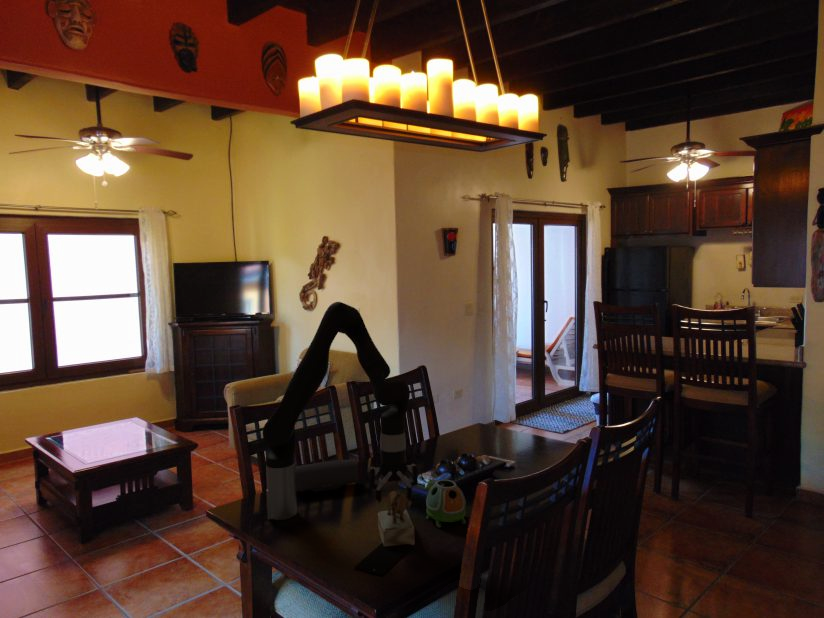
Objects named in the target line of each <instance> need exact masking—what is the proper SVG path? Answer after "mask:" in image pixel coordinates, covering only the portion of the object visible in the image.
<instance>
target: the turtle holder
mask: <svg viewBox="0 0 824 618" xmlns="http://www.w3.org/2000/svg"><path fill="white" fill-rule="evenodd" d="M440 484H441V485H440ZM425 489H426V492H427V496H426V499H425V502H426V503H425V504H426V511H425V512H426V514H427V515H426V518H425V519H426V520H431V519H432V520H434V521H435V526H436V527H437V528H443V527H442V524H441V522H443V523H444V522H445V523H453V522H460V523H461V524H463V525H465V524H466V520H465V516H466V514H467V510H466V504H467V501H466V498H465V495H464V492H463V491H462V489H461V488H460V487H459V486H458V485H457V483H456V482H454V480H451V479H439V480H436V481H432V480H428V481H427V484H426V485H425Z"/></svg>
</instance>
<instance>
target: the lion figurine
mask: <svg viewBox="0 0 824 618" xmlns="http://www.w3.org/2000/svg"><path fill="white" fill-rule="evenodd" d="M411 505H412V500H408V498H406V493H400V494H399V493H398V492H397V491H394V490H393V491H391V492H389V495H388V505H387V507H388V510H387V511H388V513H387V514H388V515H390V514H391V510H392V516H393V522H392V523H396V521H397V520H396V513H397V514H400V520H401V521H404V520H405V519H403V513H404V511H405V510H407V508H410V507H411Z"/></svg>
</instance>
